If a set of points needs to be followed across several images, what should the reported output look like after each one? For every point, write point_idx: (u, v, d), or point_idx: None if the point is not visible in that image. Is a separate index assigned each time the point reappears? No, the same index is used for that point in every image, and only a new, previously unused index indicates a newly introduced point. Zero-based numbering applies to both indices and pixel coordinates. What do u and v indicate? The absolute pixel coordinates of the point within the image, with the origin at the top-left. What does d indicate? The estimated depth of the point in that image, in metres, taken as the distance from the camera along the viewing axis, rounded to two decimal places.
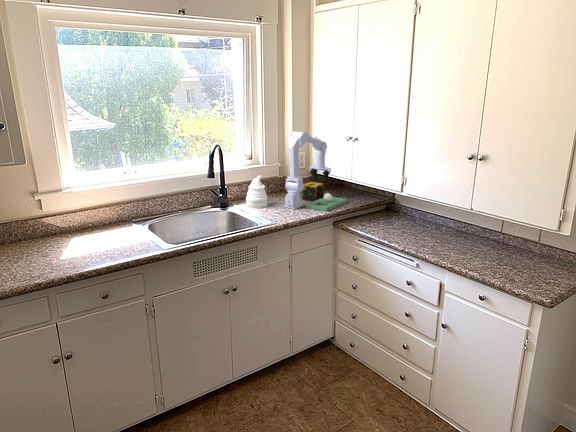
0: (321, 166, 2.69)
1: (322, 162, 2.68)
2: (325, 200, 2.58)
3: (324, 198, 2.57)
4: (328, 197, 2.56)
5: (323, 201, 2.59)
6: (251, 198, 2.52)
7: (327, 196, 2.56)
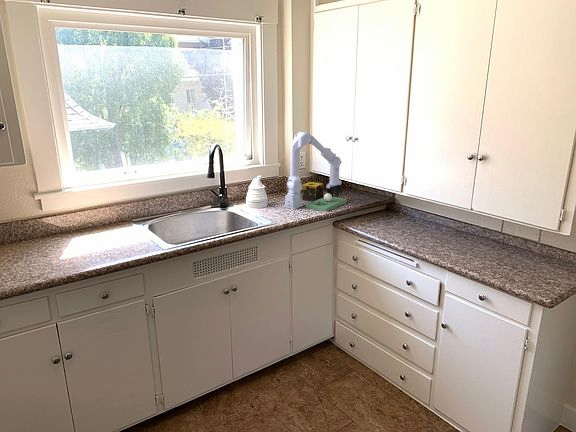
0: None
1: (330, 177, 2.59)
2: (325, 200, 2.58)
3: (324, 198, 2.57)
4: (328, 197, 2.56)
5: (323, 201, 2.59)
6: (251, 198, 2.52)
7: (327, 196, 2.56)
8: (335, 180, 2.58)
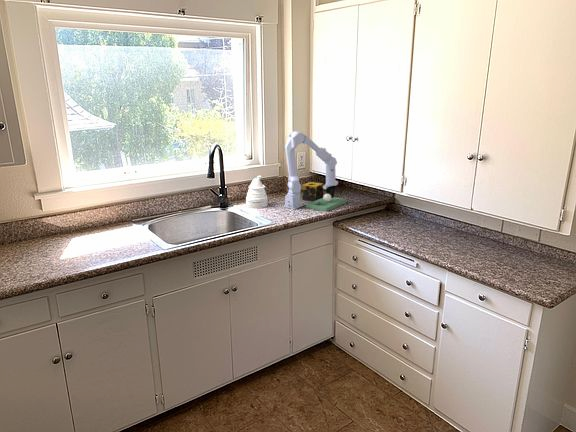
0: (326, 182, 2.57)
1: (326, 178, 2.55)
2: (325, 201, 2.57)
3: (324, 200, 2.57)
4: (327, 199, 2.55)
5: (323, 201, 2.59)
6: (251, 198, 2.52)
7: (326, 198, 2.55)
8: (331, 181, 2.54)
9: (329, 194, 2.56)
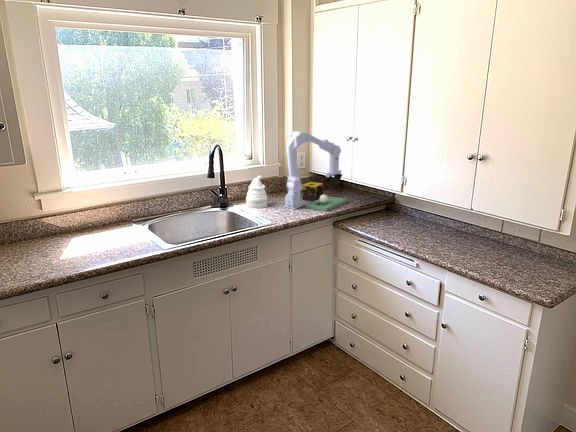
0: (329, 170, 2.60)
1: (330, 166, 2.58)
2: None
3: None
4: (325, 201, 2.54)
5: None
6: (251, 198, 2.52)
7: (323, 202, 2.54)
8: (335, 169, 2.57)
9: (322, 197, 2.53)
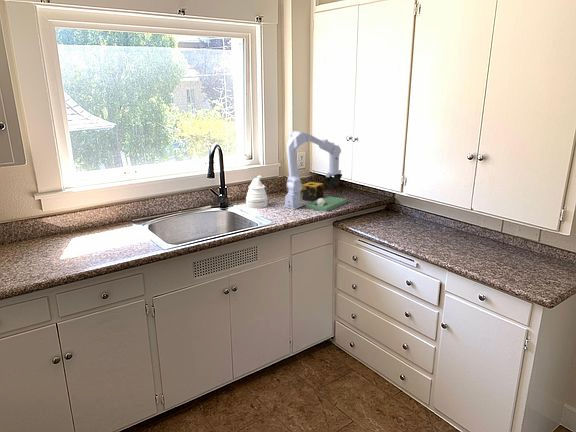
0: (329, 170, 2.60)
1: (330, 166, 2.58)
2: None
3: None
4: None
5: None
6: (251, 198, 2.52)
7: None
8: (335, 169, 2.57)
9: (320, 205, 2.53)
